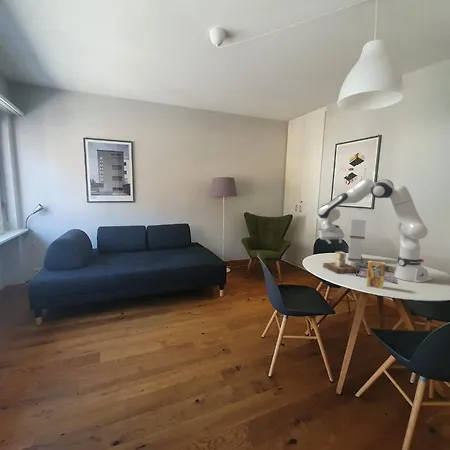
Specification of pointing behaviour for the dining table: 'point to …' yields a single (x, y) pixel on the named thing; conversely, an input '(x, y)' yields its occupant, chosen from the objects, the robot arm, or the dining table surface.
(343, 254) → the birch block
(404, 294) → the dining table surface
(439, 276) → the dining table surface
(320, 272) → the dining table surface
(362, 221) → the display case
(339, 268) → the walnut plinth
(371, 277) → the candy box
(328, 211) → the robot arm
